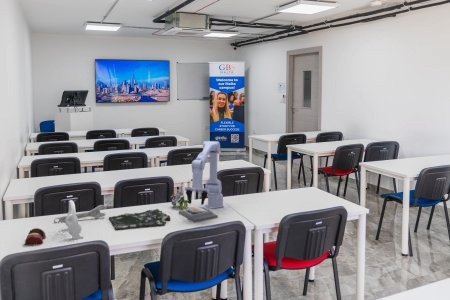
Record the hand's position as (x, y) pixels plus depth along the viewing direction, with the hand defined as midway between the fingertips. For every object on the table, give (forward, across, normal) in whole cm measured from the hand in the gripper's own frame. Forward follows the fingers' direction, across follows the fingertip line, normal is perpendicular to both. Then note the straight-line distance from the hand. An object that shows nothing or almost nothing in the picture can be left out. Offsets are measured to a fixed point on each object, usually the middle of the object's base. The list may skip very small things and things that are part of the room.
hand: (196, 204), depth 239 cm
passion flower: (+7, -20, +25) cm, 33 cm away
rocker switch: (+6, -3, +12) cm, 14 cm away
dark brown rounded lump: (+20, -66, -51) cm, 86 cm away
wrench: (+14, -65, -16) cm, 69 cm away
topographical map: (+13, -30, -7) cm, 34 cm away
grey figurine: (+17, -55, -36) cm, 68 cm away
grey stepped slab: (+9, -3, +12) cm, 15 cm away
